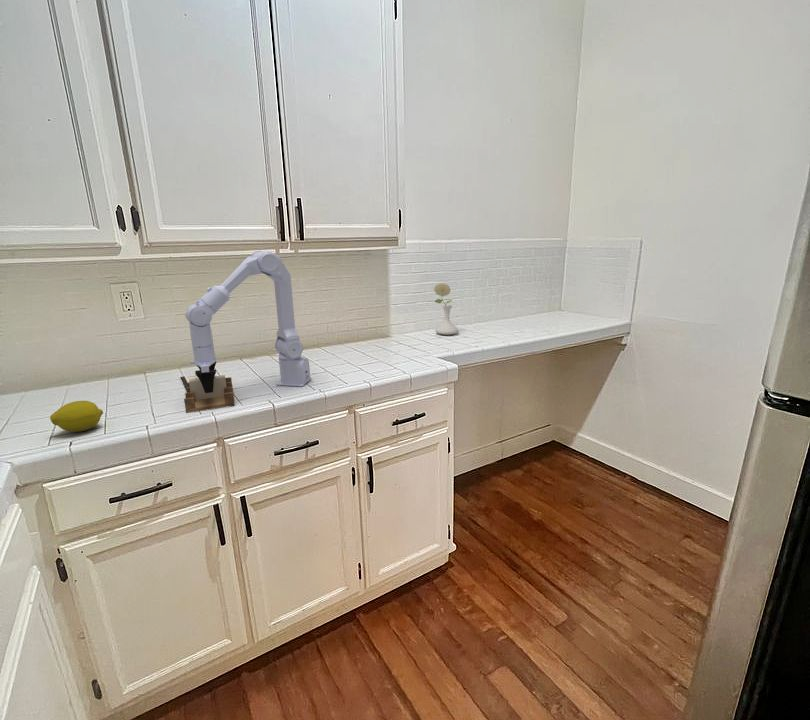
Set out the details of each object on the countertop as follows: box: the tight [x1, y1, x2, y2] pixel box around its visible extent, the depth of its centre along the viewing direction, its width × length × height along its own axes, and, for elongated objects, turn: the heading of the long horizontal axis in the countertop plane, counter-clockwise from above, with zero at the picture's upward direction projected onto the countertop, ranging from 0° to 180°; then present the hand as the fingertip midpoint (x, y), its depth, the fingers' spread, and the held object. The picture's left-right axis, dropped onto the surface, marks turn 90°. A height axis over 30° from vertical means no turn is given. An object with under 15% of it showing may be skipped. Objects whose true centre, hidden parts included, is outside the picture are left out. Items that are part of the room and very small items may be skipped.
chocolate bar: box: [180, 373, 198, 390], centre depth 150 cm, size 9×1×18 cm
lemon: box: [49, 400, 104, 433], centre depth 113 cm, size 11×8×8 cm
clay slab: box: [189, 374, 227, 400], centre depth 133 cm, size 10×2×6 cm, turn 113°
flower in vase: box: [433, 282, 459, 336], centre depth 213 cm, size 13×11×25 cm
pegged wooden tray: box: [183, 376, 236, 414], centre depth 133 cm, size 13×16×4 cm
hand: (209, 388), depth 133 cm, fingers open, 7 cm apart
